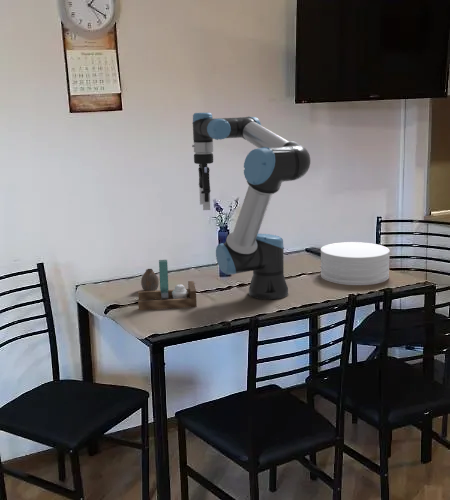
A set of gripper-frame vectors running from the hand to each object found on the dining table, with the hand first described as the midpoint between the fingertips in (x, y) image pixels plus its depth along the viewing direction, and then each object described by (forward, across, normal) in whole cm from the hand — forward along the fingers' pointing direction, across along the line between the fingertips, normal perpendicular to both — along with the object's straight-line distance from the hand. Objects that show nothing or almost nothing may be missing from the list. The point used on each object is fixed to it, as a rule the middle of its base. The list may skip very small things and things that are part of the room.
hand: (205, 207), depth 274 cm
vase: (+32, +5, -23) cm, 40 cm away
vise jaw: (+31, +22, -18) cm, 42 cm away
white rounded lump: (+32, +22, -12) cm, 41 cm away
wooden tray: (+32, +22, -17) cm, 42 cm away
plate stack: (+32, -1, +62) cm, 70 cm away
